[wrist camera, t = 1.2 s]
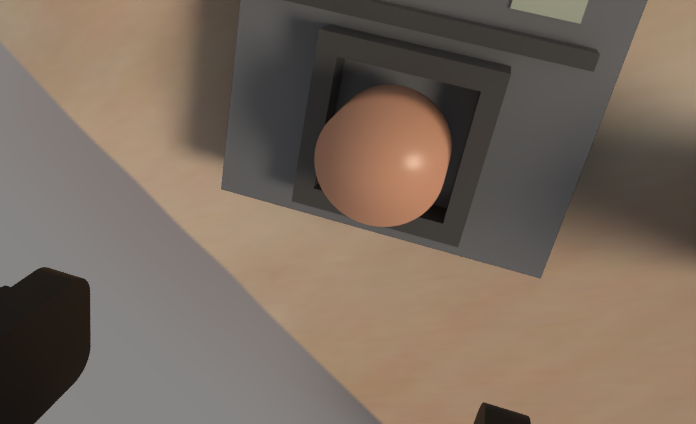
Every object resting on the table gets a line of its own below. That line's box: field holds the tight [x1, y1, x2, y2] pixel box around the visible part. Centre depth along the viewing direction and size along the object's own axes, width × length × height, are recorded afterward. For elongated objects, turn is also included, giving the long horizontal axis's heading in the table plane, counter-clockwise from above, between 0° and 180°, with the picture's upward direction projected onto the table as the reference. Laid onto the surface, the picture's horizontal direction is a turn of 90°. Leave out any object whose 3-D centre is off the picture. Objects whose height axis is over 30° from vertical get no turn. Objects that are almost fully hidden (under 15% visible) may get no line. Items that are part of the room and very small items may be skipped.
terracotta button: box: [314, 84, 452, 227], centre depth 21 cm, size 4×4×2 cm
